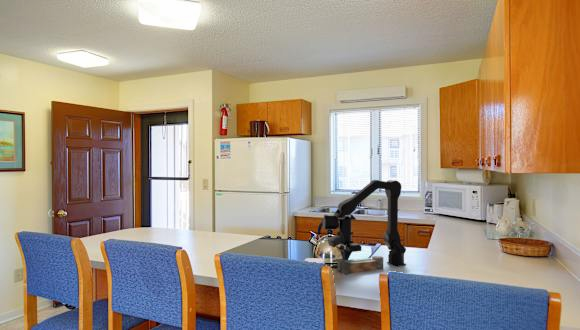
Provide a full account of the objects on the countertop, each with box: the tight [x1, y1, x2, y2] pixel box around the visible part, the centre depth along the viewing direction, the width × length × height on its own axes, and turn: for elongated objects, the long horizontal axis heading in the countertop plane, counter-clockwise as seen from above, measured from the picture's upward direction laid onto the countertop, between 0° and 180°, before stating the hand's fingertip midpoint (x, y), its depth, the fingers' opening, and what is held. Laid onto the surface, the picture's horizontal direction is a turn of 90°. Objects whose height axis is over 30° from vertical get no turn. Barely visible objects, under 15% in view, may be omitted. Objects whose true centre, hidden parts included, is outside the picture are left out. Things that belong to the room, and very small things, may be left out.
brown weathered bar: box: [336, 257, 372, 273], centre depth 170 cm, size 16×3×4 cm, turn 111°
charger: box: [304, 257, 326, 265], centre depth 166 cm, size 5×9×15 cm
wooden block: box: [341, 255, 384, 276], centre depth 169 cm, size 22×6×5 cm, turn 112°
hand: (345, 262), depth 176 cm, fingers closed
